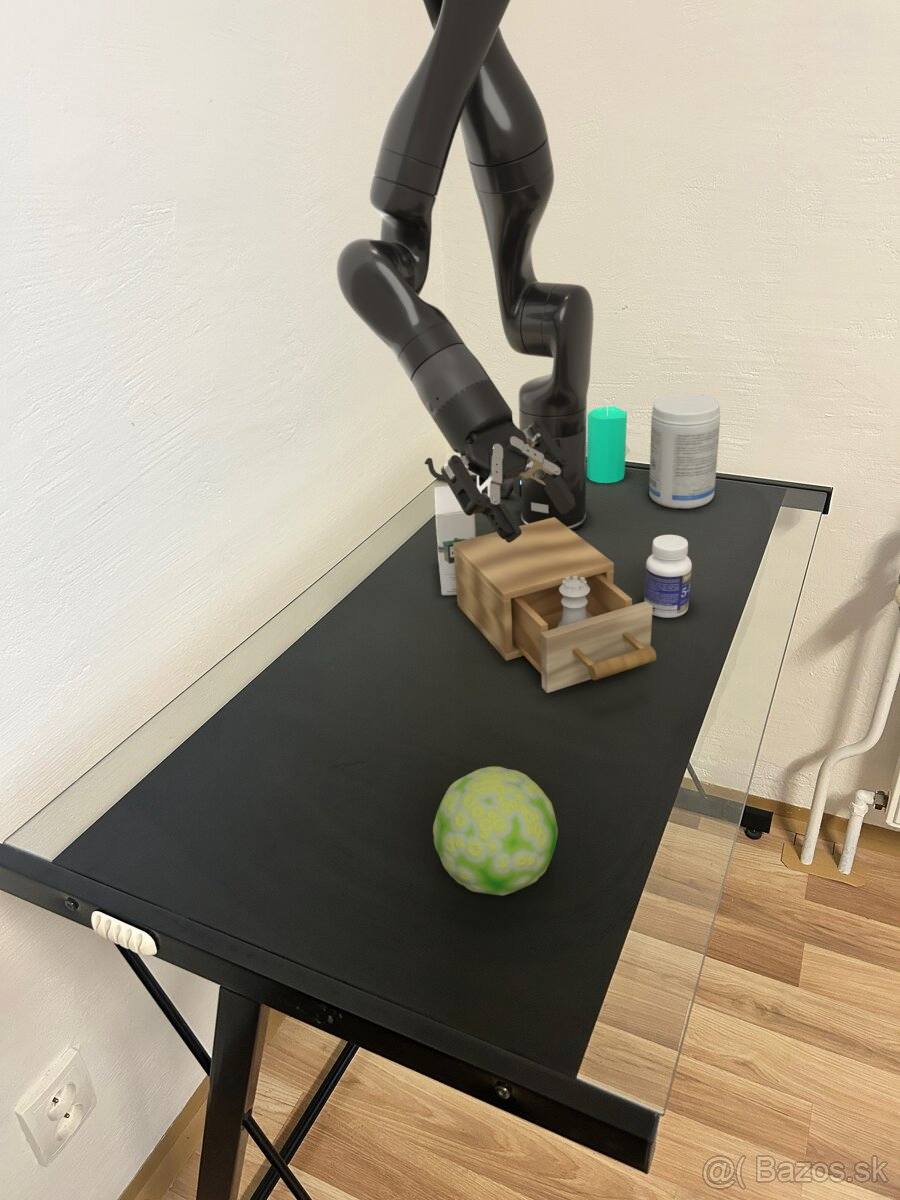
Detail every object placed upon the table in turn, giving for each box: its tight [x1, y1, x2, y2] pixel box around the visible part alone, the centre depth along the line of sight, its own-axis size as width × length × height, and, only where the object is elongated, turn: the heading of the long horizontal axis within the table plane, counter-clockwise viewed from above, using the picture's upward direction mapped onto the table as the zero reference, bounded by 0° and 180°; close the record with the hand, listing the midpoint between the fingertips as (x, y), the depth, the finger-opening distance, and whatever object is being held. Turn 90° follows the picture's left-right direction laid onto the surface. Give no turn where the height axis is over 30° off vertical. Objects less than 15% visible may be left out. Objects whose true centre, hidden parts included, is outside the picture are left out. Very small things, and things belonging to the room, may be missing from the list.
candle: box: [586, 402, 628, 484], centre depth 138 cm, size 6×6×12 cm
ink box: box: [434, 485, 477, 596], centre depth 113 cm, size 9×5×12 cm, turn 2°
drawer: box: [511, 574, 657, 694], centre depth 95 cm, size 18×13×7 cm
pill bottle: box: [643, 534, 693, 619], centre depth 104 cm, size 5×5×9 cm
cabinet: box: [453, 517, 615, 662], centre depth 104 cm, size 14×14×9 cm
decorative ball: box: [432, 766, 559, 897], centre depth 70 cm, size 10×10×10 cm
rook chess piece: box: [557, 576, 590, 628], centre depth 95 cm, size 4×4×8 cm
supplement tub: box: [648, 393, 721, 510], centre depth 129 cm, size 10×10×15 cm
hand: (543, 524), depth 93 cm, fingers open, 8 cm apart
